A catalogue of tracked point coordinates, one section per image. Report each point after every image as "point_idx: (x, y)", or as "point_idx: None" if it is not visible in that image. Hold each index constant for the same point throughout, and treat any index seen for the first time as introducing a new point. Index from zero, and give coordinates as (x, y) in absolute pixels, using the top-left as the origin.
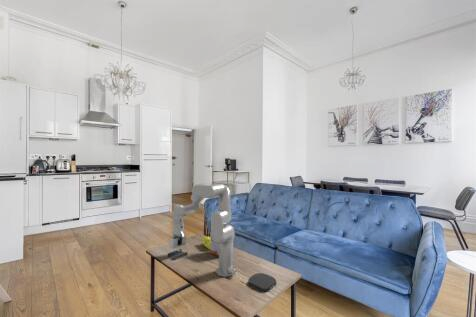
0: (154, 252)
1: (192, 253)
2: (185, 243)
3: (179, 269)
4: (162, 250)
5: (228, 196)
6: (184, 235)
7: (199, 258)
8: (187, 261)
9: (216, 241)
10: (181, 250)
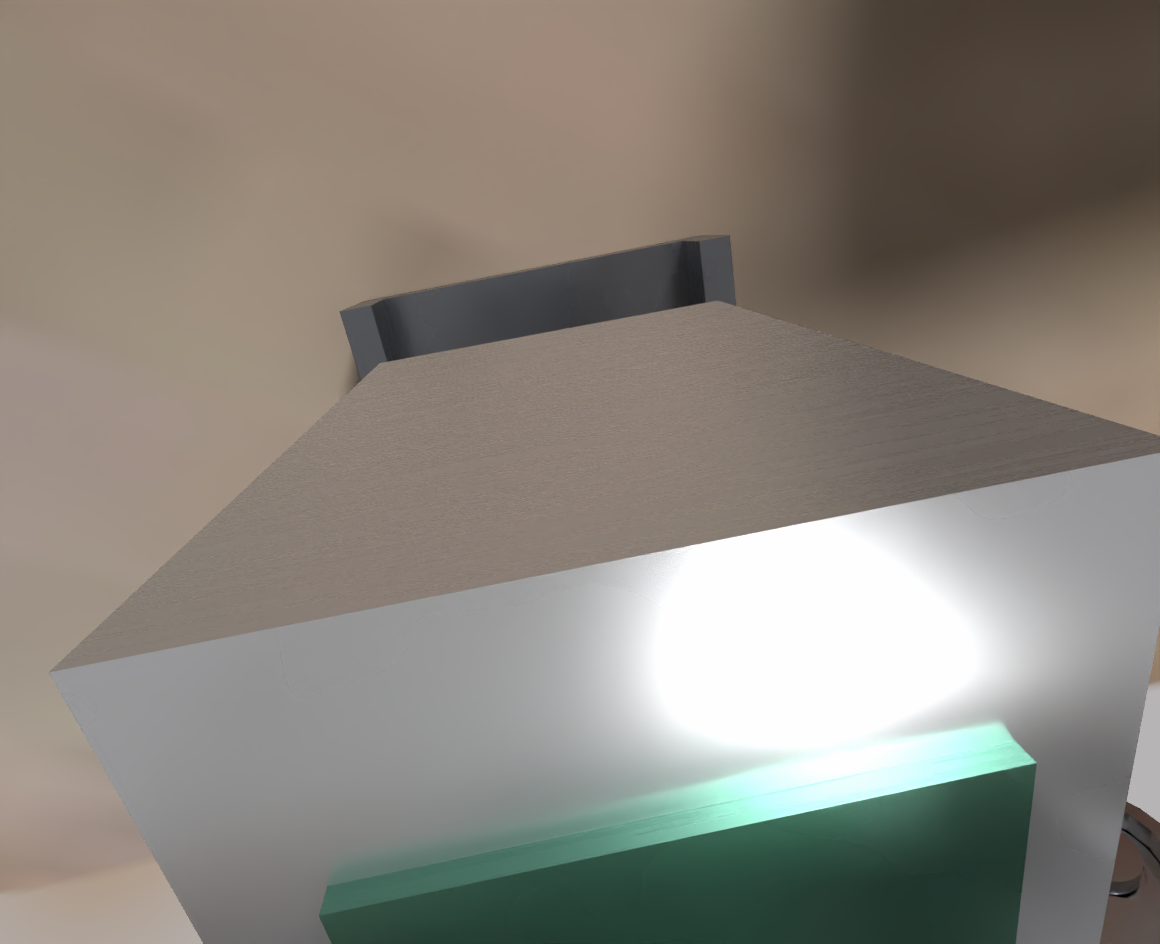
0: (86, 844)
1: (698, 30)
2: (734, 313)
3: (1154, 653)
4: (25, 687)
5: None
6: (922, 575)
7: (1140, 28)
8: None
9: None
10: (380, 302)
